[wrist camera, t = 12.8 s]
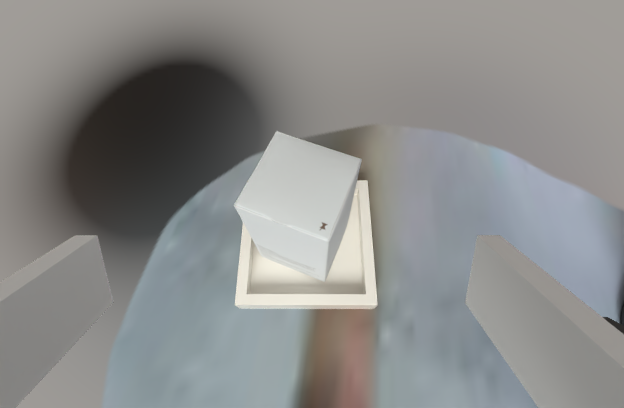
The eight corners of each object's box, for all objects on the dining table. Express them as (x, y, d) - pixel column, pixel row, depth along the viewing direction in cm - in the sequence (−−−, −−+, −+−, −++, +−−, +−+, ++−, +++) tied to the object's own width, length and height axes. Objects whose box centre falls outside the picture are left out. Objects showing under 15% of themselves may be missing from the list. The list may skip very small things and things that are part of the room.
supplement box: (350, 220, 43) (366, 157, 30) (325, 283, 40) (330, 244, 26) (287, 197, 45) (276, 126, 31) (258, 256, 41) (230, 205, 28)
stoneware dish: (364, 190, 46) (367, 180, 44) (373, 308, 39) (377, 305, 37) (251, 191, 46) (247, 180, 44) (240, 308, 40) (234, 304, 37)
